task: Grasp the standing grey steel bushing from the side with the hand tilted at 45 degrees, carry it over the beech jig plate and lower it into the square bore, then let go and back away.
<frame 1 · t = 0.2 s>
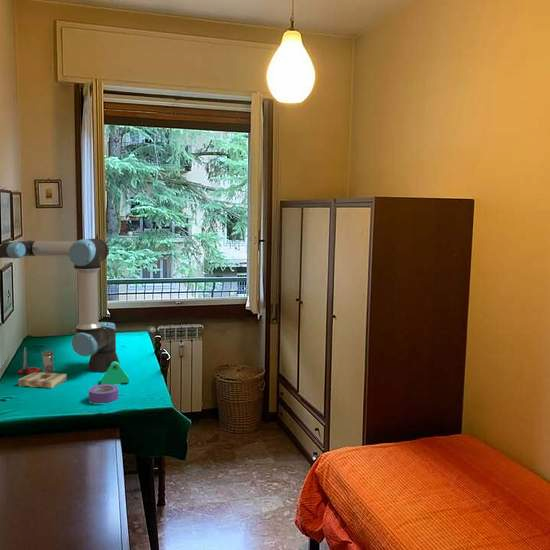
green triangle: (115, 383, 247), on the table
tow hook: (29, 372, 262), on the table
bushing: (48, 374, 258), on the table
jig: (43, 383, 245), on the table
tape roll: (103, 400, 225), on the table
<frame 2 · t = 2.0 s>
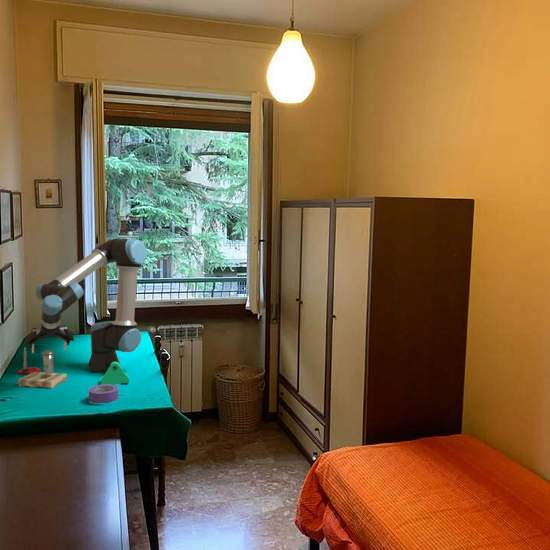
hand: (49, 349, 247), 15 cm above the table, tool tilted 45°, fingers open, 13 cm apart
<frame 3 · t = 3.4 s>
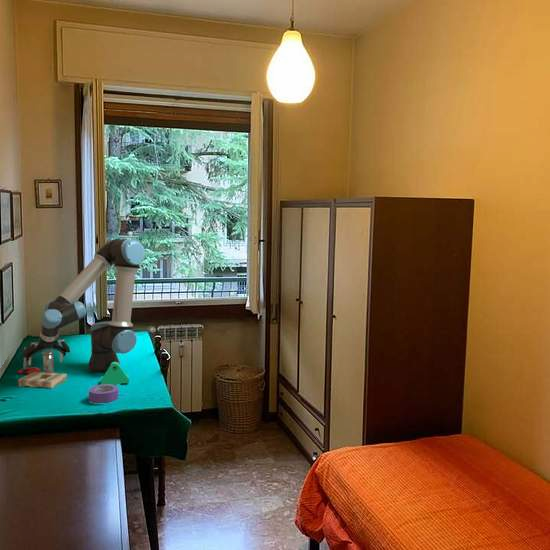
hand: (45, 361, 253), 7 cm above the table, tool tilted 45°, fingers open, 13 cm apart
nothing on the table moved.
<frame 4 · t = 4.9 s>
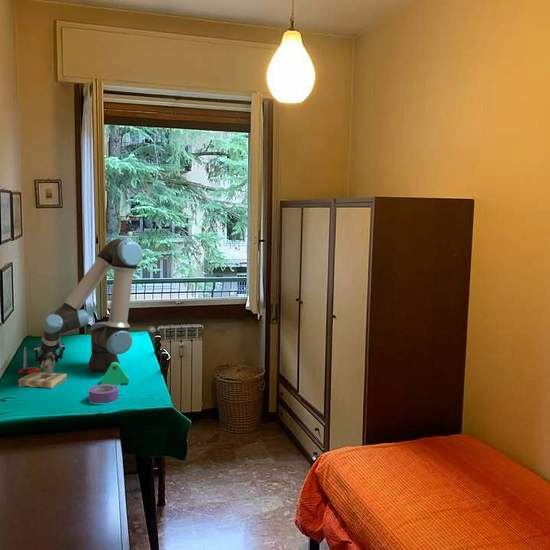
hand: (47, 366, 260), 3 cm above the table, tool tilted 45°, fingers closed on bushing, 4 cm apart
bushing: (48, 374, 258), on the table, touching gripper
everything else where it was.
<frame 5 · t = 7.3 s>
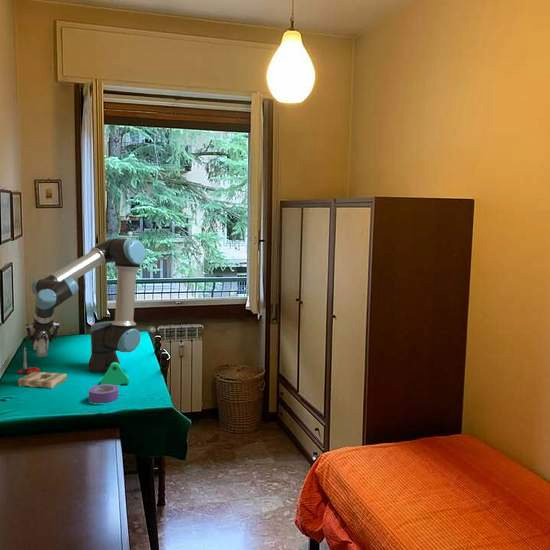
hand: (40, 346, 246), 16 cm above the table, tool tilted 45°, fingers closed on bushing, 4 cm apart
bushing: (42, 355, 243), point 13 cm above the table, touching gripper
when the fingers open (5 cm above the table, at t = 9.6 s): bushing stays where it is, resting in jig.
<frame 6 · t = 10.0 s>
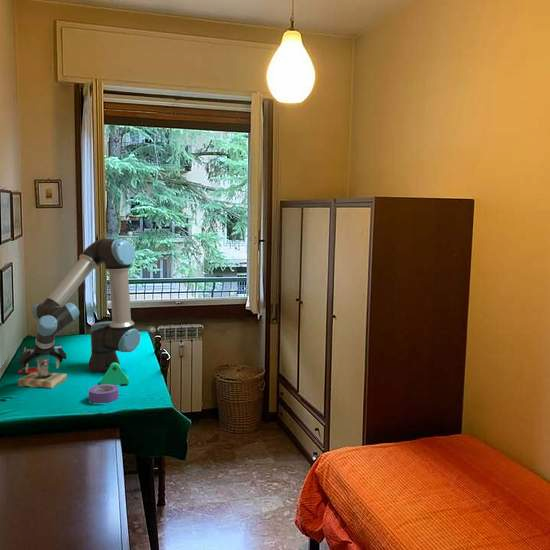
hand: (41, 367, 246), 6 cm above the table, tool tilted 45°, fingers open, 12 cm apart
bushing: (43, 383, 245), resting in jig
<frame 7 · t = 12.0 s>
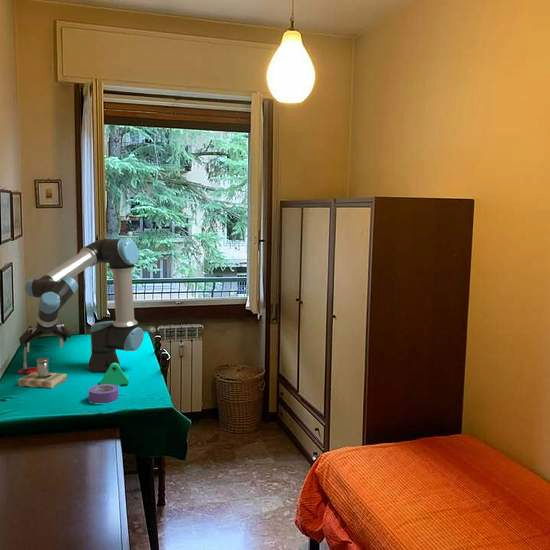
hand: (44, 347, 238), 18 cm above the table, tool tilted 45°, fingers open, 13 cm apart
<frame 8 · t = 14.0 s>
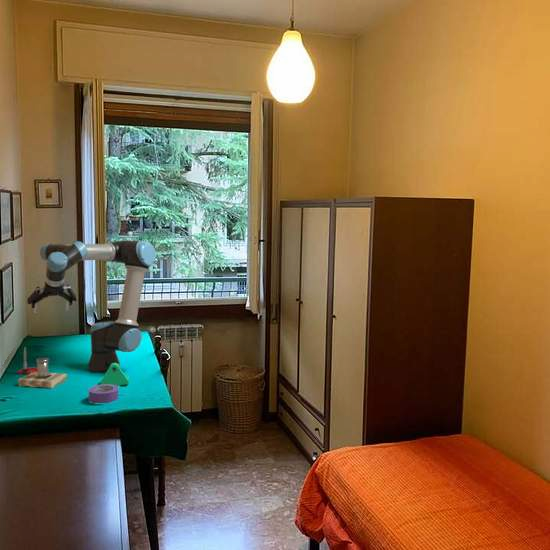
hand: (51, 309, 246), 33 cm above the table, tool tilted 45°, fingers open, 13 cm apart
at the end: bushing 0.2 cm off-centre on the jig, point 0.0 cm above the jig's base; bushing tilted 0°; the gripper is holding nothing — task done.
